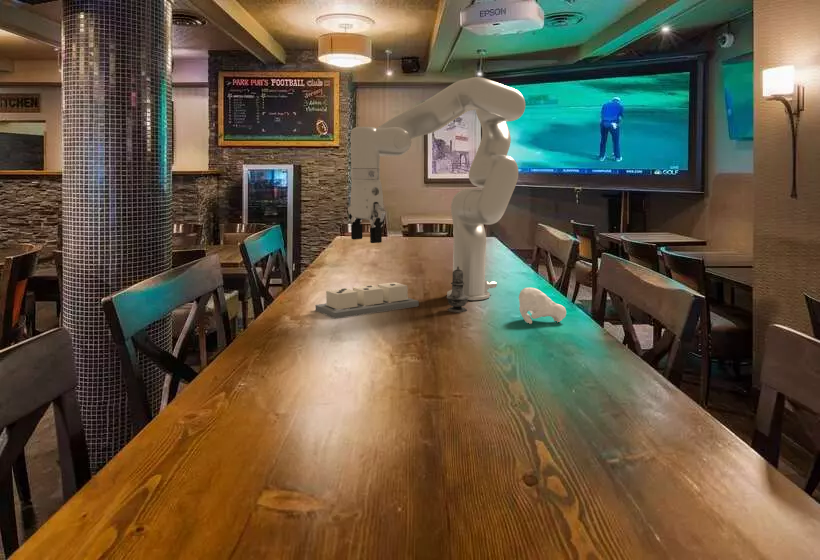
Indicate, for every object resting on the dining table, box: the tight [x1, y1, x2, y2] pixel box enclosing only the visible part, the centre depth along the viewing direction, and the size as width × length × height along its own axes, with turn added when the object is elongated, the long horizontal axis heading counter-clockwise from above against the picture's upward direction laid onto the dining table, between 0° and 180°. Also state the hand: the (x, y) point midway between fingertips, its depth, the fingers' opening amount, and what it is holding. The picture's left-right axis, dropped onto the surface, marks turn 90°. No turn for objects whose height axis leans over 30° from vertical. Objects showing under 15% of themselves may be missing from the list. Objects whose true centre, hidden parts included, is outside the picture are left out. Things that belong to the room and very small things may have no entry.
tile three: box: [325, 287, 358, 311], centre depth 163 cm, size 6×6×4 cm
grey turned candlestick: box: [446, 267, 468, 313], centre depth 166 cm, size 6×6×12 cm
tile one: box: [377, 281, 409, 303], centre depth 172 cm, size 6×6×4 cm
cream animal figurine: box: [518, 287, 567, 325], centre depth 154 cm, size 6×8×12 cm
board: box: [314, 297, 420, 319], centre depth 168 cm, size 11×26×2 cm, turn 125°
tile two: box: [352, 284, 383, 307], centre depth 167 cm, size 6×6×4 cm
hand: (366, 240), depth 164 cm, fingers open, 9 cm apart
